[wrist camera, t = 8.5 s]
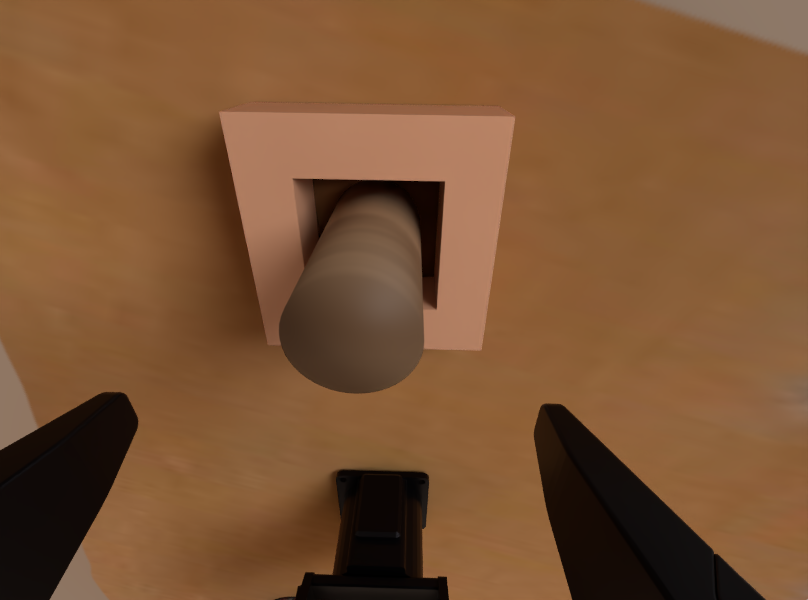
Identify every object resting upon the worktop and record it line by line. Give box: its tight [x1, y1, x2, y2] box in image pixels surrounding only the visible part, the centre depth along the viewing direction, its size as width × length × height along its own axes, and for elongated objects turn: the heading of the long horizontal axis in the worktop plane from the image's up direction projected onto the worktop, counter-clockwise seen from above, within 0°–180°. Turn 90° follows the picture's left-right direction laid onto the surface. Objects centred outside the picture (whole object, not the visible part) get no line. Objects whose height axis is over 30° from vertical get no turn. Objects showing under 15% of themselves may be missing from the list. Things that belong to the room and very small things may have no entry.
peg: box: [279, 180, 424, 393], centre depth 15 cm, size 4×4×9 cm
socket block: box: [219, 102, 515, 350], centre depth 17 cm, size 10×10×3 cm
